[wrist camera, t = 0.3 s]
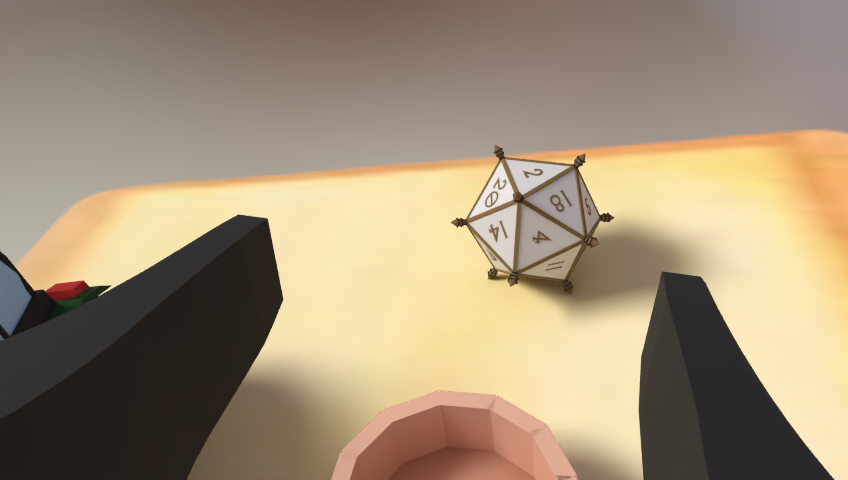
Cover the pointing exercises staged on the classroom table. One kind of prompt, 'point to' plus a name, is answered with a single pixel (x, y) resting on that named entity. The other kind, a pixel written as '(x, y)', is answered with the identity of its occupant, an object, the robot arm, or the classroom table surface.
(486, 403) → the pink round pot
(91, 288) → the toy tractor
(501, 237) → the game die
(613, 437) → the classroom table surface
